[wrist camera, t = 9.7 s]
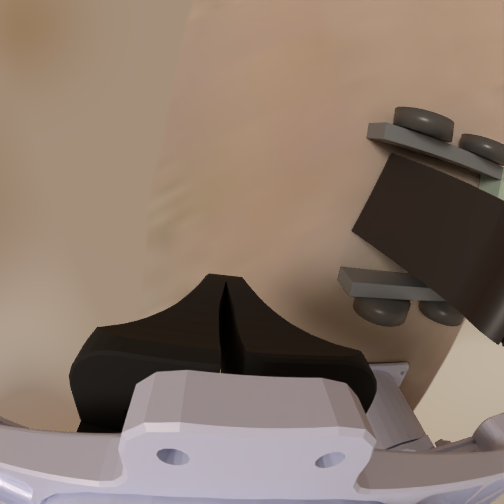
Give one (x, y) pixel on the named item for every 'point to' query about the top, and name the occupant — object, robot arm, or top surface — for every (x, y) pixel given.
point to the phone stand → (441, 237)
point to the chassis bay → (407, 285)
